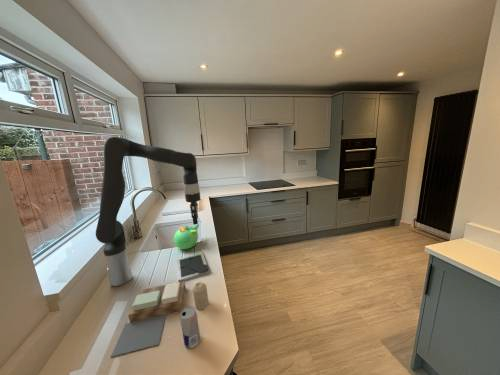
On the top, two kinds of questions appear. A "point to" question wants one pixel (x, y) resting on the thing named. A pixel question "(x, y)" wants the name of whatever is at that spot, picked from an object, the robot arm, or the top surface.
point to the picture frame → (191, 267)
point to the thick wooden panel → (160, 308)
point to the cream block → (171, 293)
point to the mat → (140, 335)
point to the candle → (200, 296)
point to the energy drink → (190, 327)
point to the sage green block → (146, 300)
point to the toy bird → (186, 237)
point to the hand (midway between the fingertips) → (195, 221)
